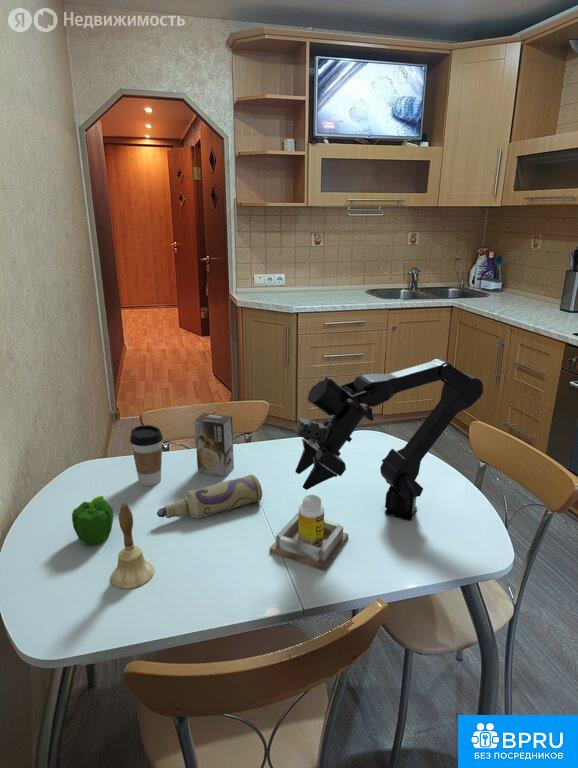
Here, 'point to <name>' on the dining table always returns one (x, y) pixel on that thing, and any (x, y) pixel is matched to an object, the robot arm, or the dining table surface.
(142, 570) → the hand bell
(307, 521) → the supplement bottle
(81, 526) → the bell pepper
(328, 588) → the dining table surface
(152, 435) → the coffee cup
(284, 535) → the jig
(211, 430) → the coffee box
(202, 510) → the decorative bottle
